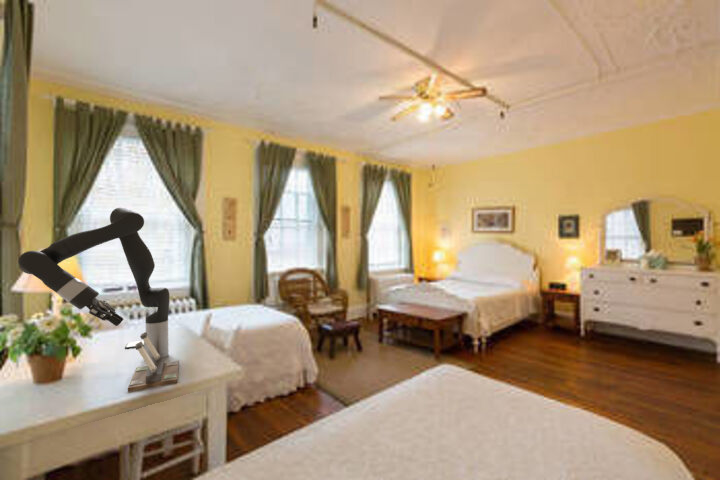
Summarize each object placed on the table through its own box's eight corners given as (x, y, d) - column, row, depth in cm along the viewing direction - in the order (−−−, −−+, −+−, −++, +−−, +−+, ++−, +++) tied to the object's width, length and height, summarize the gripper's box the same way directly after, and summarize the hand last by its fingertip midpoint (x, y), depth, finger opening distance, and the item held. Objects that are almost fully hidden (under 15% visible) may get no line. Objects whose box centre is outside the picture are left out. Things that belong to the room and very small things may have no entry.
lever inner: (155, 361, 136) (140, 336, 133) (156, 358, 139) (141, 334, 137) (160, 359, 137) (144, 334, 134) (161, 356, 140) (145, 331, 137)
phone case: (124, 350, 163) (161, 345, 171) (124, 347, 163) (160, 342, 171) (127, 345, 171) (162, 340, 179) (127, 342, 171) (162, 337, 179)
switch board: (127, 392, 119) (127, 380, 119) (136, 370, 137) (136, 360, 137) (177, 382, 126) (176, 371, 126) (179, 363, 145) (179, 354, 145)
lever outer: (151, 374, 123) (134, 347, 121) (153, 370, 127) (136, 343, 124) (156, 371, 124) (139, 344, 122) (157, 367, 128) (141, 341, 125)
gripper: (81, 288, 109) (125, 319, 115) (93, 283, 122) (132, 311, 128) (61, 305, 107) (107, 335, 113) (75, 298, 119) (116, 325, 125)
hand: (120, 322), depth 120 cm, fingers open, 3 cm apart
